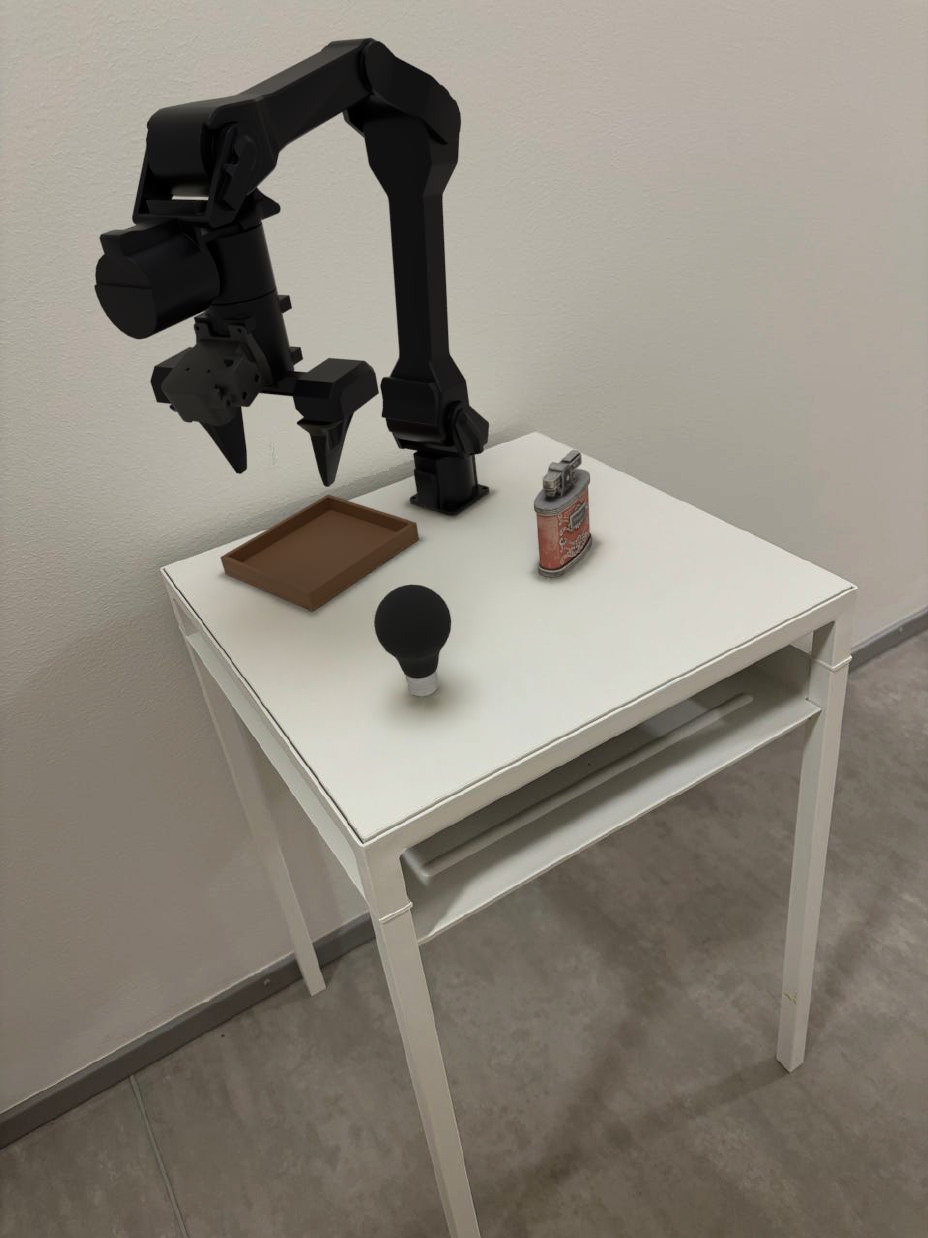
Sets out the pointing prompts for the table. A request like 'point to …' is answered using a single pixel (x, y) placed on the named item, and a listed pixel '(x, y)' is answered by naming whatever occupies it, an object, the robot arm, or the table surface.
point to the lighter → (563, 517)
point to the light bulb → (414, 633)
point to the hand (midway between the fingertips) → (284, 478)
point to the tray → (320, 551)
